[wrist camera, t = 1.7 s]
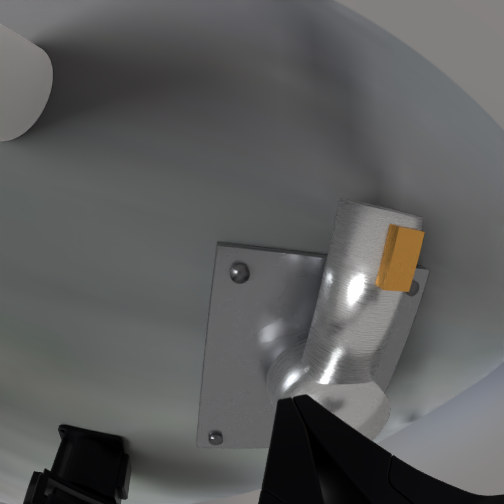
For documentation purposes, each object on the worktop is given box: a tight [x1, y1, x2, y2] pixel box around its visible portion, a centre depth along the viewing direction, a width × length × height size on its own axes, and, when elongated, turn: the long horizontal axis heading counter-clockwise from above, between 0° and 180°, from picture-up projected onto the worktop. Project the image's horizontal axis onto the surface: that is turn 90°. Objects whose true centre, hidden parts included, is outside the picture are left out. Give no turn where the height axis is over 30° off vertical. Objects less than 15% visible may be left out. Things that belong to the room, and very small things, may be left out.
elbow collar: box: [266, 198, 425, 441], centre depth 18 cm, size 16×7×6 cm, turn 171°
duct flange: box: [197, 242, 429, 448], centre depth 22 cm, size 16×18×3 cm
